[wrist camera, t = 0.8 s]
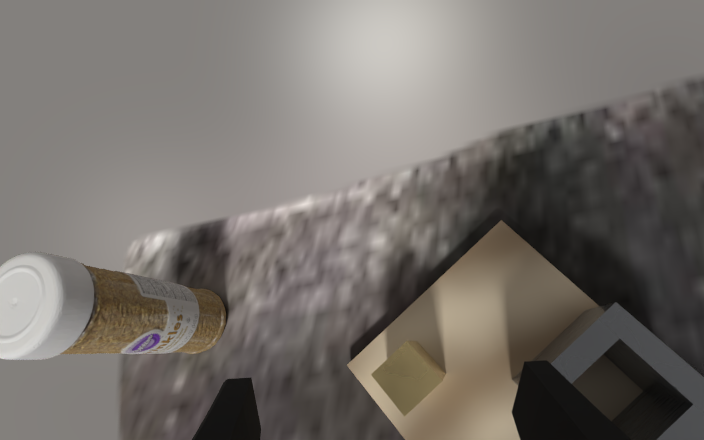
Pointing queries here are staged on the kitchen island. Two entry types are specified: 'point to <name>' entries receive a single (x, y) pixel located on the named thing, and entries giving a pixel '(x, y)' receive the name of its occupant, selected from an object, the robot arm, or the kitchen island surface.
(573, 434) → the robot arm
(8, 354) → the sprinkles bottle
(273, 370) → the kitchen island surface
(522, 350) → the plate
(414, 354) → the brass post
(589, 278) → the kitchen island surface
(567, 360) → the grey hollow square block
